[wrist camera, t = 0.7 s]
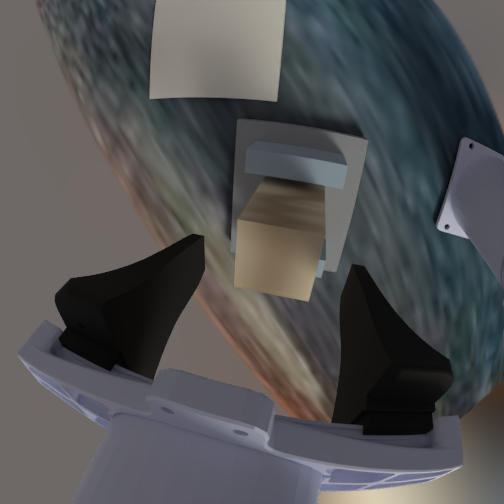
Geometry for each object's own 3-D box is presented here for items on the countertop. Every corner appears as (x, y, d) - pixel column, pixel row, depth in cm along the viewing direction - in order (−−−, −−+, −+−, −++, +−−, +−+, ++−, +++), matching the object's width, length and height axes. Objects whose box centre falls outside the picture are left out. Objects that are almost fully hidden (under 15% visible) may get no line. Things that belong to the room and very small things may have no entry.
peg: (324, 180, 18) (325, 235, 12) (314, 229, 21) (308, 301, 14) (268, 170, 19) (237, 219, 13) (263, 220, 21) (234, 286, 15)
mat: (290, -56, 9) (290, -58, 9) (277, 101, 17) (276, 101, 17) (165, -43, 11) (163, -45, 10) (152, 98, 19) (149, 98, 18)
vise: (366, 137, 17) (377, 148, 14) (335, 265, 23) (336, 296, 20) (241, 118, 18) (223, 124, 15) (233, 246, 24) (219, 272, 21)
